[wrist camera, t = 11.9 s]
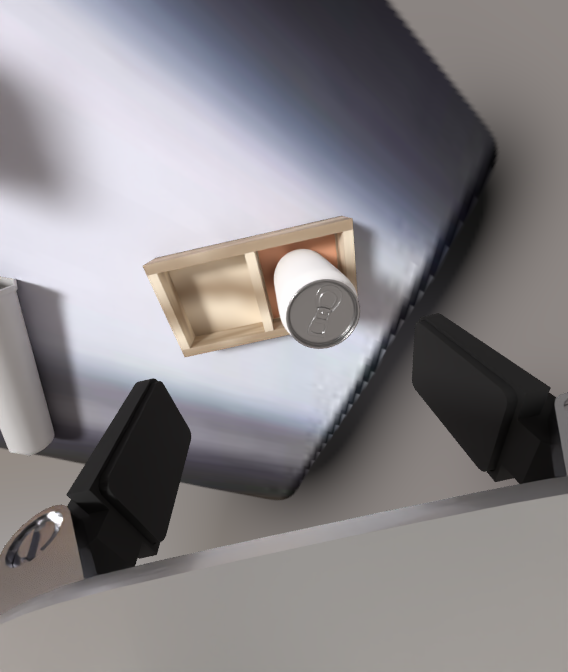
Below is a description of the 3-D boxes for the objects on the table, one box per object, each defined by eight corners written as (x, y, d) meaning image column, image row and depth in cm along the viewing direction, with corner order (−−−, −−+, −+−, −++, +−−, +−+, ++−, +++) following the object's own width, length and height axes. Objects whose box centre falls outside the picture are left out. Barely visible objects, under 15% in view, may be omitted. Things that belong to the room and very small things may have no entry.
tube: (53, 458, 37) (5, 294, 26) (1, 467, 35) (-77, 290, 23) (63, 429, 41) (26, 276, 30) (18, 435, 39) (-42, 272, 27)
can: (336, 256, 29) (379, 285, 19) (318, 308, 32) (347, 360, 21) (281, 240, 28) (294, 263, 18) (267, 296, 31) (271, 345, 20)
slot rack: (156, 257, 29) (142, 265, 26) (341, 215, 28) (352, 218, 25) (192, 341, 34) (184, 357, 31) (349, 307, 34) (359, 319, 30)
